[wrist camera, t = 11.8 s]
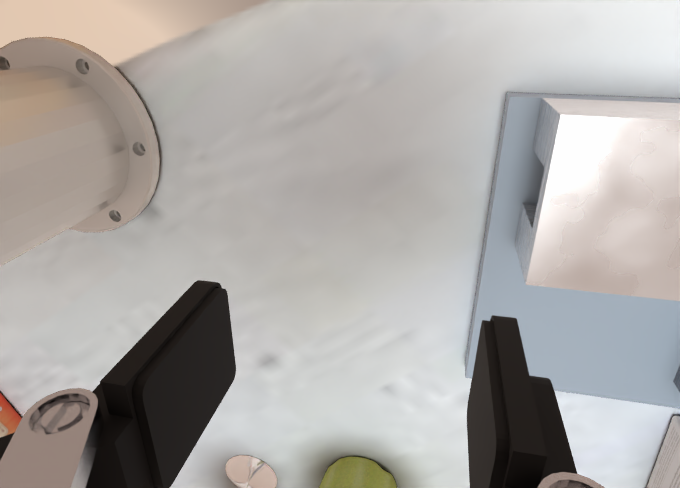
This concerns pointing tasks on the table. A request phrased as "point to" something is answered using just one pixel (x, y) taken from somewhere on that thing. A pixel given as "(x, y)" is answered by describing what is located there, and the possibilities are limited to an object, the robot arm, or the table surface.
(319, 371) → the table surface
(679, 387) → the block
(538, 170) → the assembly board
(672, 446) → the supplement box
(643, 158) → the housing cover
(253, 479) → the wineglass
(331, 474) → the plant pot
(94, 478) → the robot arm
